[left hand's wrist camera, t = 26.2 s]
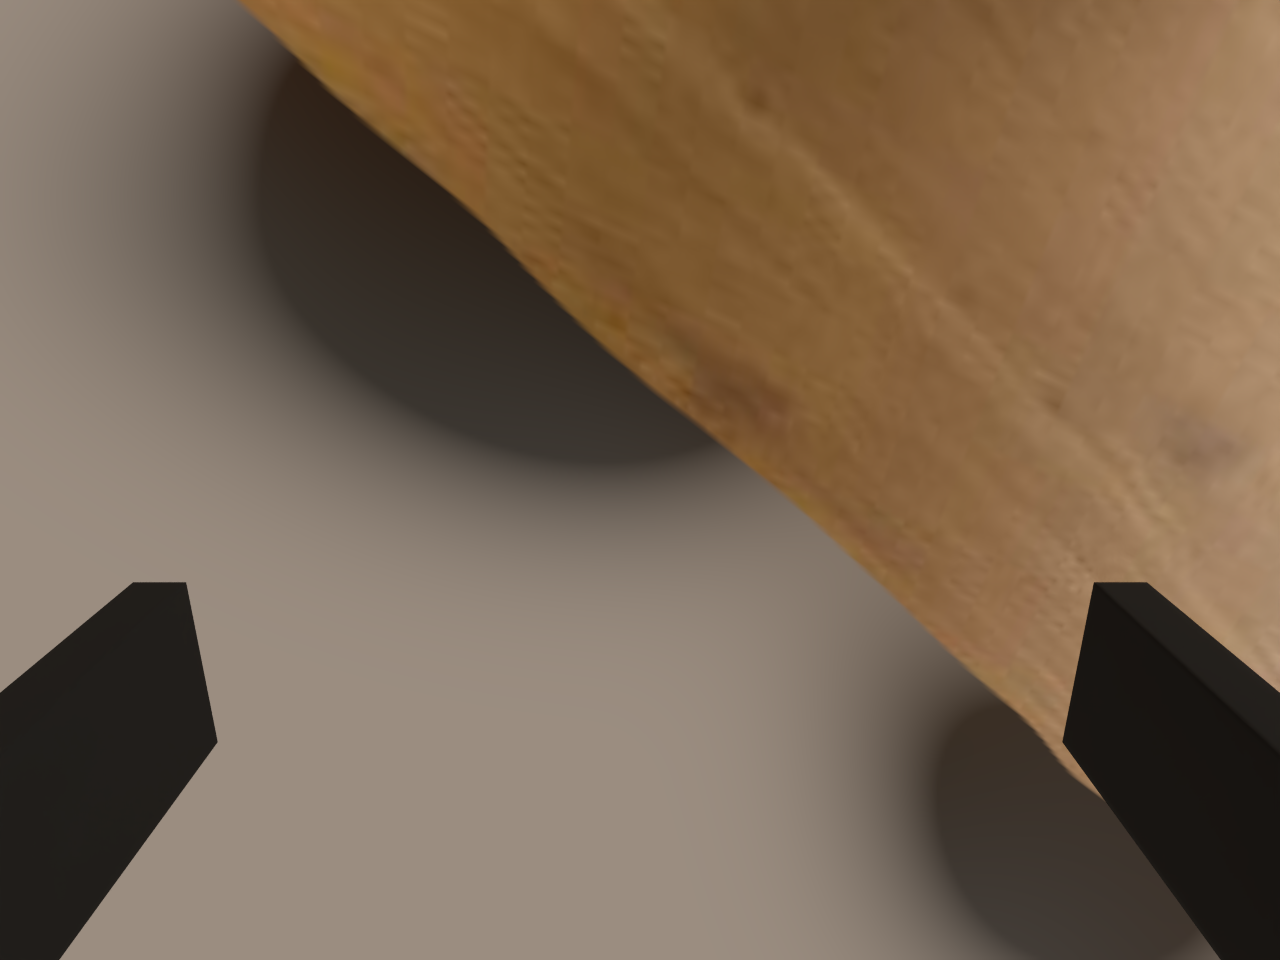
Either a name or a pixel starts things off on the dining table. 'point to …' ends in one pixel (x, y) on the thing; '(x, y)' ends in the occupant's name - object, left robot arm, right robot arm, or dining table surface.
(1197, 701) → the left robot arm
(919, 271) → the dining table surface
